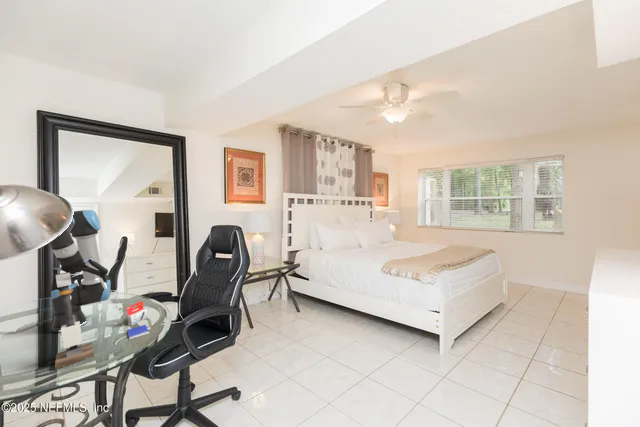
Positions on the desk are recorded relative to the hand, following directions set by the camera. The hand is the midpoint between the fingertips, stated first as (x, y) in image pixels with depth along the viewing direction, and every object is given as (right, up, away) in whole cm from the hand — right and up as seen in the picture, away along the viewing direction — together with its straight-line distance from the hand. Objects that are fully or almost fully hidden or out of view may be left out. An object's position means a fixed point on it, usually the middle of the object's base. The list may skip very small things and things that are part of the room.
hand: (88, 293), depth 134 cm
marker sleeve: (+1, -19, -9) cm, 21 cm away
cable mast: (+1, -25, -9) cm, 26 cm away
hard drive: (+15, -23, +12) cm, 30 cm away
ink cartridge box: (+5, -23, +28) cm, 37 cm away
